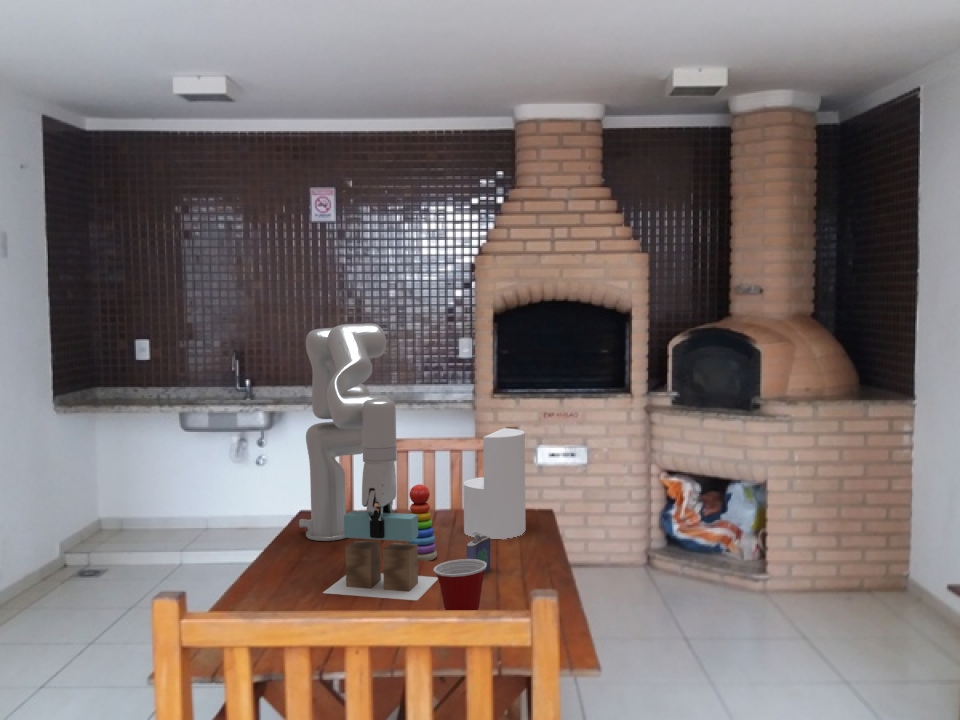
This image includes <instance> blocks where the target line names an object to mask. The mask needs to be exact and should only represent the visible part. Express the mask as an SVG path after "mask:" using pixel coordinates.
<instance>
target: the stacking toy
mask: <svg viewBox="0 0 960 720" xmlns="http://www.w3.org/2000/svg"><path fill="white" fill-rule="evenodd" d="M429 498H430V490H429V488H428V487H427V486H426V485H423V484H421V483H420V484H415V485H414V486H412V487H411V488H410V490H409V499H410V500H411V502H412V503H411V504H410V506H409V509H410V511H411V512H410V513H409V514H418V537H417V538H416V539H414V540H413V541H407V544H417V549H418V561H421V562H424V561H425V562H429V561H432V560H434V559H436V557H437V555H438V553H437V552H438V551H437V550H436V548H437V545H436V542H435V540H436V536H435V535H434V533H435V529H434V527H433V521H432V519H431V516H432V514H431V512H430V510H431V505H430V504H429V503H428V501H429Z"/></svg>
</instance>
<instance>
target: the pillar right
mask: <svg viewBox="0 0 960 720" xmlns="http://www.w3.org/2000/svg"><path fill="white" fill-rule="evenodd" d="M382 556H383V557H382V561H383V563H382V567H383V568H382V569H383V570H382V571H383V572H382V573H383V574H384V590H394V591H407V592H410V591H411V590H412V589H413V588H414V587H415V586H416V585H417V584H418V576H419V563H418V561H419V560H418V549H417V544H408V543H402V542H391V543H390V544H388V546H386V547H385V548H383V549H382Z"/></svg>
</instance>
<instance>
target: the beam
mask: <svg viewBox="0 0 960 720" xmlns="http://www.w3.org/2000/svg"><path fill="white" fill-rule="evenodd" d="M378 513H379V511H378ZM382 520H384V538H371V537H370V520H369V514H368V512H367V511H362V510H361V511H359V510H358V511H357V510H356V511H355V510H351V511H349V512H346V515H344V537H345V538H344V539H347V538H350V539H363V540H378V541H379V540H380V541H381V540H382V541H395V542H396V541H400V542H408V541H413V540H414V539H416V538H417V537H418V514H410V513H395V512H392V513H383V518H382Z"/></svg>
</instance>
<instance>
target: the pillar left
mask: <svg viewBox="0 0 960 720" xmlns="http://www.w3.org/2000/svg"><path fill="white" fill-rule="evenodd" d="M344 549H345V575H346V587H355V588H368V589H371V588H373V587H374V586H375V585H376V584H377V583H378V582H380V581H381V572H382V571H381V566H382V565H381V541H370V540H356V539H355V540H354V541H353V542H351V543H349V544H348V545H346V546H345V548H344Z"/></svg>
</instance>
